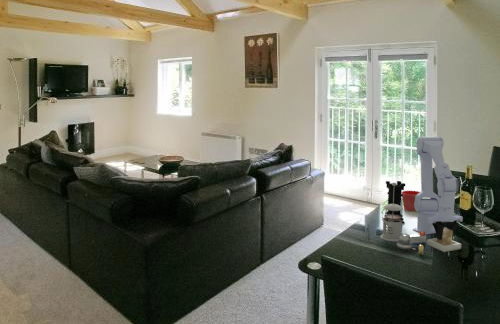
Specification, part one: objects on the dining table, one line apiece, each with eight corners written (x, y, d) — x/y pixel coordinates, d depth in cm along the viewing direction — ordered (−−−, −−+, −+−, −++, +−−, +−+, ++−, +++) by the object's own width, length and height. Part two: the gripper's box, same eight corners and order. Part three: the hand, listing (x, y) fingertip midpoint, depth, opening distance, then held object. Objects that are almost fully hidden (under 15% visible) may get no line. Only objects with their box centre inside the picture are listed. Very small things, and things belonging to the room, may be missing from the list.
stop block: (442, 245, 159) (443, 231, 158) (436, 241, 163) (437, 228, 162) (451, 244, 160) (452, 230, 159) (445, 241, 164) (446, 227, 163)
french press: (388, 242, 168) (391, 185, 164) (373, 233, 179) (375, 180, 175) (408, 240, 170) (411, 183, 166) (392, 231, 181) (394, 179, 178)
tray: (443, 241, 168) (443, 236, 167) (460, 248, 159) (461, 243, 159) (426, 244, 165) (427, 239, 164) (444, 252, 156) (444, 246, 156)
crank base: (404, 243, 166) (405, 235, 166) (427, 253, 155) (427, 245, 154) (393, 245, 164) (393, 237, 164) (415, 255, 153) (415, 247, 152)
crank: (402, 244, 160) (403, 235, 159) (397, 241, 164) (397, 232, 163) (427, 242, 162) (427, 233, 161) (421, 239, 166) (421, 230, 165)
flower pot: (396, 207, 222) (397, 191, 220) (412, 206, 225) (413, 189, 223) (409, 212, 212) (410, 195, 210) (426, 210, 215) (427, 193, 213)
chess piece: (404, 223, 193) (406, 184, 190) (388, 223, 193) (389, 184, 190) (398, 218, 201) (400, 180, 198) (383, 219, 201) (384, 180, 198)
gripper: (436, 210, 154) (434, 243, 156) (468, 208, 157) (466, 240, 159) (425, 206, 161) (423, 237, 163) (456, 204, 164) (454, 235, 166)
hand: (444, 238), depth 161 cm, fingers closed on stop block, 4 cm apart
